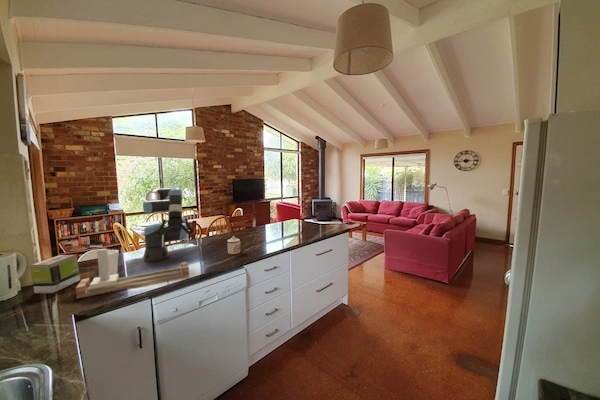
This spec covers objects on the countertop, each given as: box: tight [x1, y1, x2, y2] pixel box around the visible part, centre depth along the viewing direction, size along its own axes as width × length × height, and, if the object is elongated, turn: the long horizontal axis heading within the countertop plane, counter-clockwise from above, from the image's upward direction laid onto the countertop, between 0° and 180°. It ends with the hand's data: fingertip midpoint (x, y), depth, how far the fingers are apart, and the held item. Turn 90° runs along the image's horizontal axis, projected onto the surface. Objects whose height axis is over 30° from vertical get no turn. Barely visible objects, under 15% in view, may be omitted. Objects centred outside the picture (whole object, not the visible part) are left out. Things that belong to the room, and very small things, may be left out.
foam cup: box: [107, 249, 120, 275], centre depth 145 cm, size 10×9×13 cm
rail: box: [75, 261, 190, 299], centre depth 134 cm, size 12×48×5 cm, turn 119°
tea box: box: [29, 254, 81, 294], centre depth 130 cm, size 15×10×15 cm, turn 178°
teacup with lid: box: [226, 236, 241, 255], centre depth 183 cm, size 12×9×12 cm
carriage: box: [90, 248, 120, 289], centre depth 126 cm, size 10×10×17 cm
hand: (175, 245), depth 153 cm, fingers open, 13 cm apart
